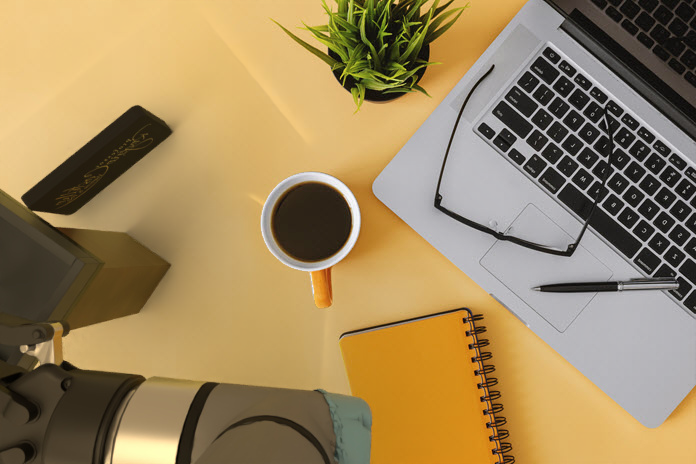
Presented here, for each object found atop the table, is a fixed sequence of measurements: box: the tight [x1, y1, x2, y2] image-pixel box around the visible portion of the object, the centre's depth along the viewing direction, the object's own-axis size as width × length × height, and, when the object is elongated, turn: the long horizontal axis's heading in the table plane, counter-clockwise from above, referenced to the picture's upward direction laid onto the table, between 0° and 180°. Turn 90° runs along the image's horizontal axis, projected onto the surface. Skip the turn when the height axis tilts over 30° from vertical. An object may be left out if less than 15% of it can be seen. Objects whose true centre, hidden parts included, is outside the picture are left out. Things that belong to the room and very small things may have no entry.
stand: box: [54, 226, 172, 332], centre depth 62 cm, size 9×9×26 cm
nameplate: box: [20, 104, 173, 216], centre depth 71 cm, size 21×2×10 cm, turn 129°
